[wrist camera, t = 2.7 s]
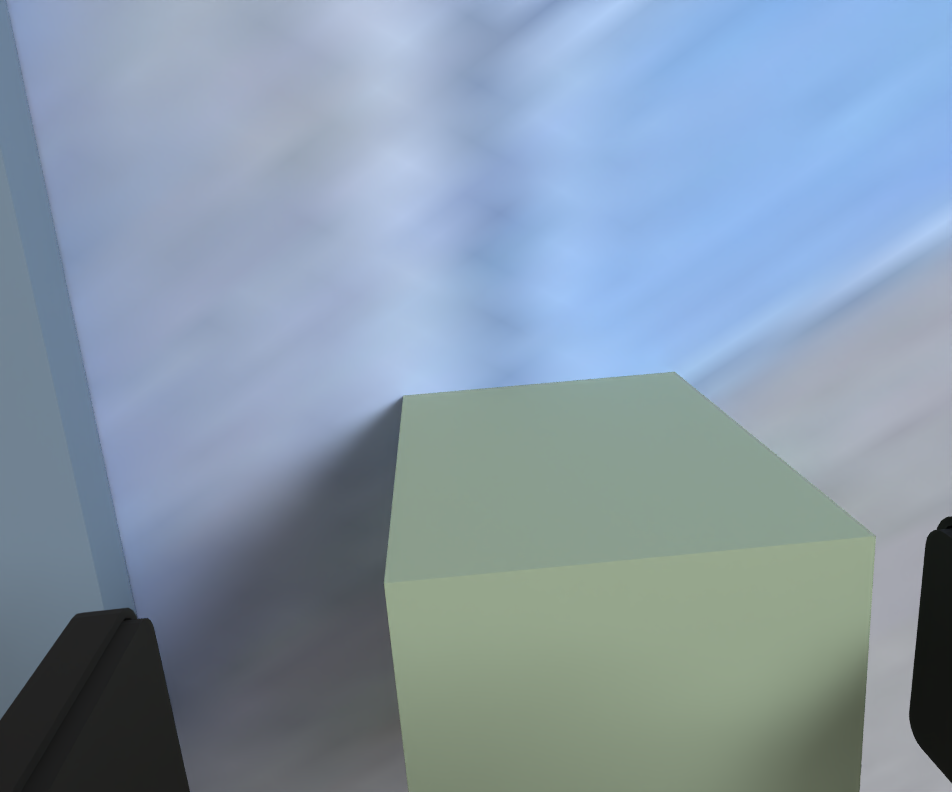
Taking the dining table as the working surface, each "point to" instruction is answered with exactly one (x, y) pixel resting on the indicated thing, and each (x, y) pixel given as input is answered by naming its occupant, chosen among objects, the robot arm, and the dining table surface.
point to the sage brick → (619, 598)
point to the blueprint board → (43, 420)
